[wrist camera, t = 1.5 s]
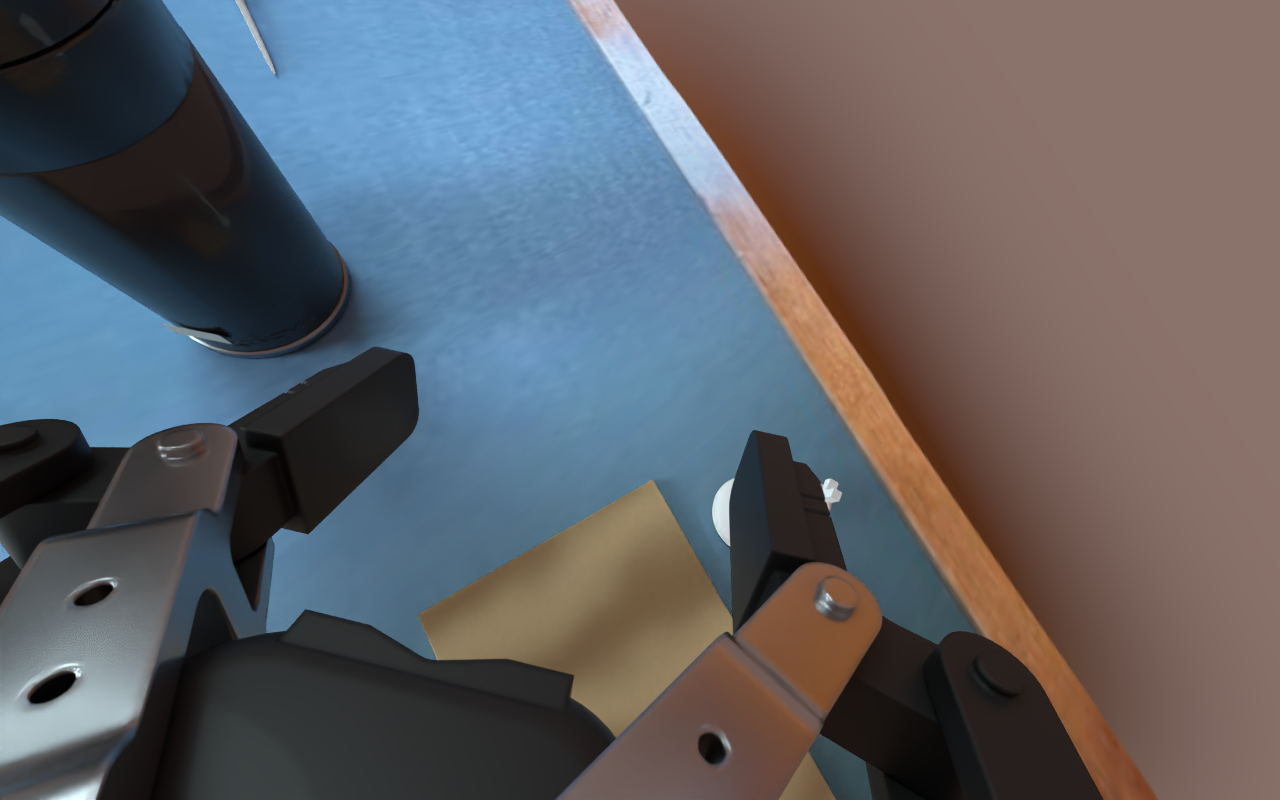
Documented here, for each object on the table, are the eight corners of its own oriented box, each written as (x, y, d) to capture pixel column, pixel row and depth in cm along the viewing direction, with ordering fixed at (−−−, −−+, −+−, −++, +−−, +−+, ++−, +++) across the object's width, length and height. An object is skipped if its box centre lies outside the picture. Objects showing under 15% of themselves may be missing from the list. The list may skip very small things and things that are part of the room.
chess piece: (793, 500, 31) (898, 476, 22) (766, 568, 29) (867, 573, 20) (730, 463, 31) (808, 422, 22) (699, 528, 29) (769, 515, 20)
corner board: (419, 613, 25) (416, 614, 25) (651, 480, 30) (653, 478, 29) (639, 1120, 21) (641, 1132, 20) (873, 867, 25) (879, 873, 25)
